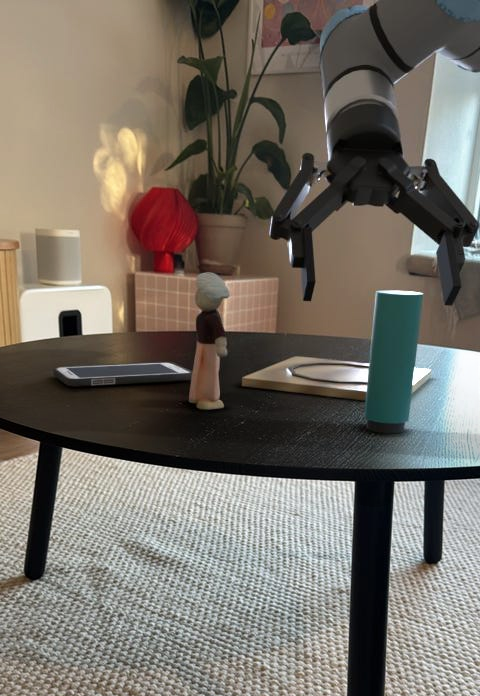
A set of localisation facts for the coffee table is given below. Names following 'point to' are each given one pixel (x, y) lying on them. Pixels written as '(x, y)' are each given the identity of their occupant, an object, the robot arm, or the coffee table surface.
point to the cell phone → (121, 374)
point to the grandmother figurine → (208, 342)
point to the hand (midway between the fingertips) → (381, 294)
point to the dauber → (392, 360)
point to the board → (321, 377)
